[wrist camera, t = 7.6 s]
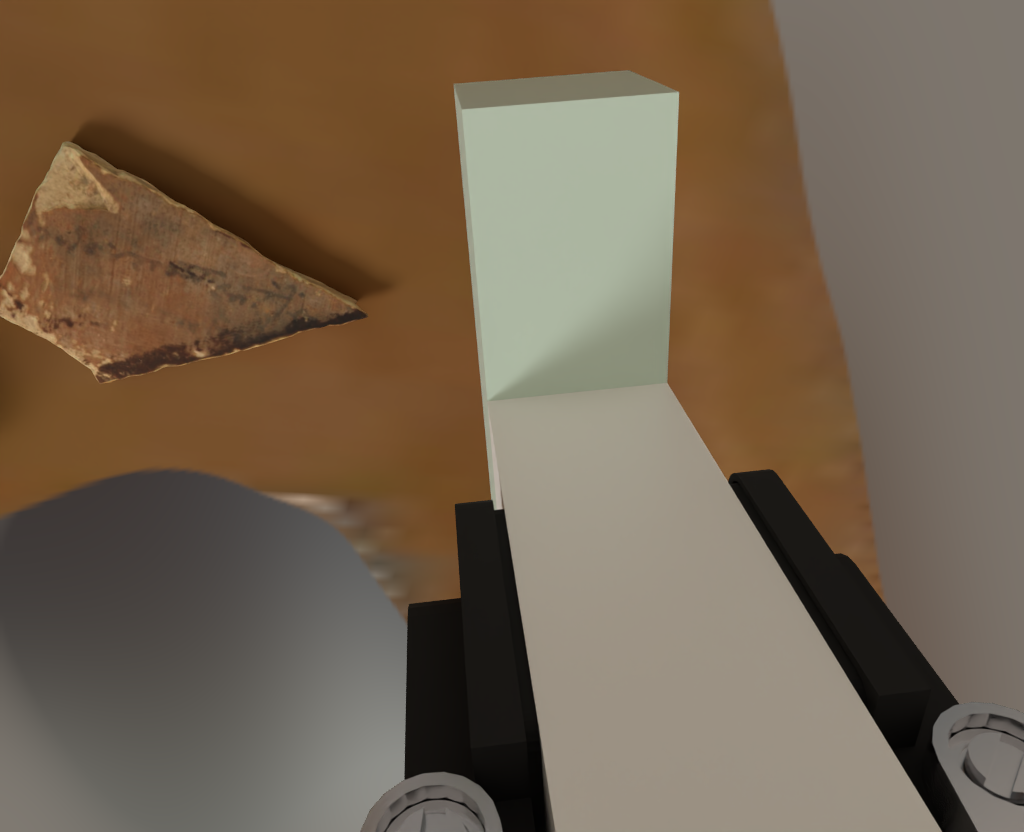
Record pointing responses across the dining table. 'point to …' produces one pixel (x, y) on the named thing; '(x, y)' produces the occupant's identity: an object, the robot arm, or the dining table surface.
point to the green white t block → (637, 499)
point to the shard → (147, 277)
